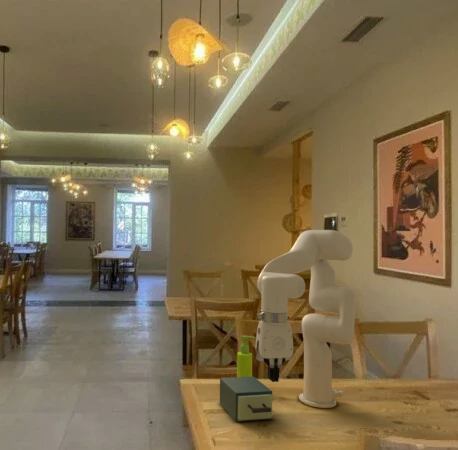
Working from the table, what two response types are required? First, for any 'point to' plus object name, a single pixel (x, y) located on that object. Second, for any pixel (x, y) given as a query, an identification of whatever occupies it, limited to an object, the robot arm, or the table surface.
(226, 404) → the small teal cabinet
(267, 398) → the drawer
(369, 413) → the table surface
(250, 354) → the soap dispenser
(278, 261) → the robot arm
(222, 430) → the table surface
